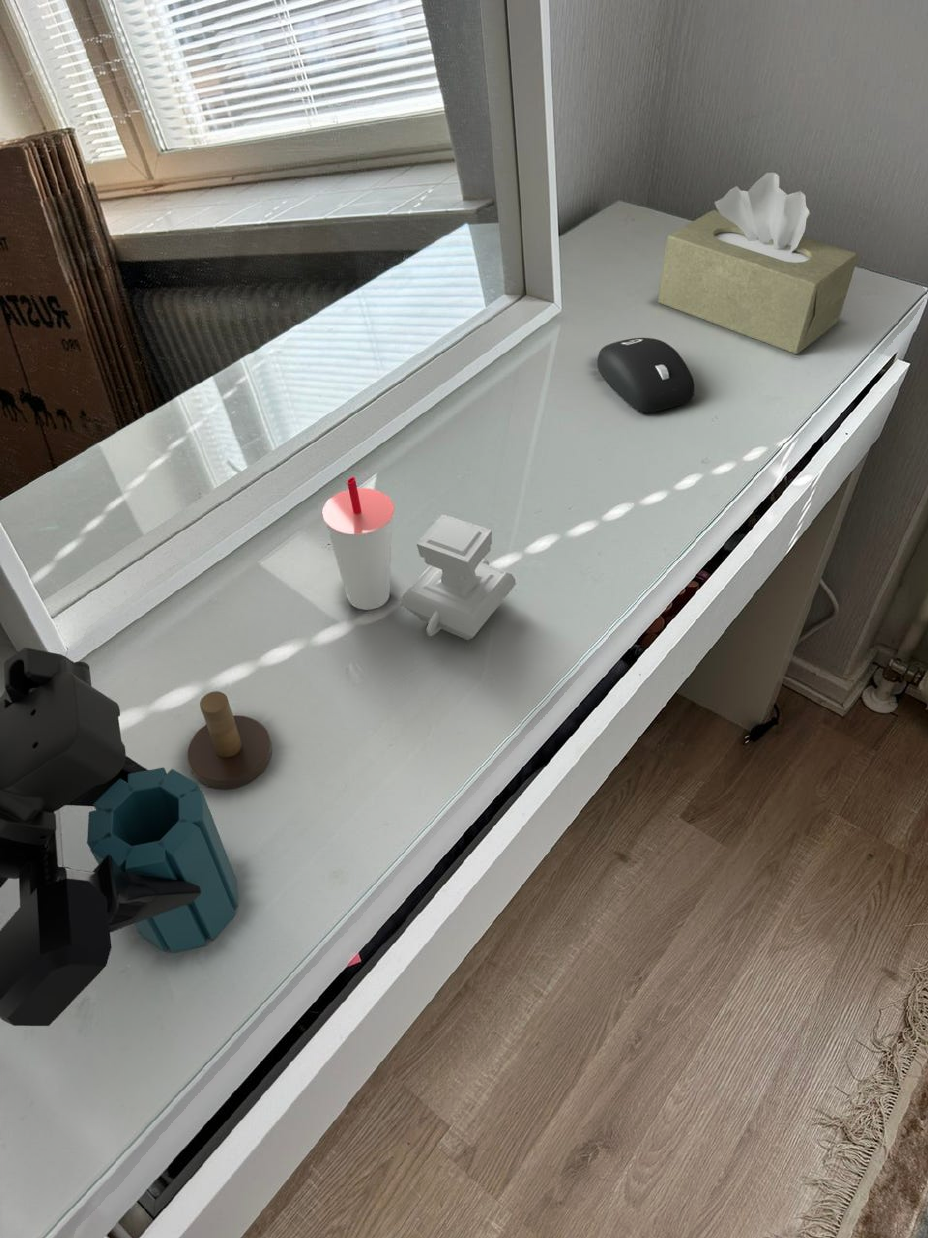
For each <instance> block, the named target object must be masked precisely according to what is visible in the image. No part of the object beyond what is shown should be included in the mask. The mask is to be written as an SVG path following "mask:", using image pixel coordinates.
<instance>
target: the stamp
mask: <svg viewBox="0 0 928 1238" xmlns="http://www.w3.org/2000/svg"><path fill="white" fill-rule="evenodd" d="M492 532H493V531H492V529H489V528H487V527H484V526H481V525H477V524H474V523H471V522H468V521H466V520H463V519H459V518H456V517H453V516H449V515H446V514H444V513H443V514H441V515H440V516H439V517H438V518H437V520H435V522H434V523H433V524H432V525H431V526H430V528H429V529H428V530H427V531H426V532H425V533H424V534H423V535H422V537H421V538H420V539H419V540H418V541H417V542H416V548H417V549H418V550H417V551H418V554H419V557H421V558H423V559H424V563H426V564H427V565H429V566H428V567H427V568H426V569H425V570H424V571H423V573H422V574H421V575H420V576H419V577H418V578H417V579H416V580H415V581H414V582H413V583H412V584H411V585H410V586H409V588H408V589H407V590H406V591H405V592H404V593H403V595H402V596H401V599H400V604H399V605H400V607H402V608H404V609H405V610H406V611H408V612H409V613H411V614H412V615H414V616H416V617H418V618H419V619H420V621H423V622H425V623H427V627H426V634H427V636H429V637H432V636H434V635H436V634H437V633H438V632H439V631H441V630H443V631H445V632H448V633H450V634H452V635H455V636H457V637H459V638H461V639H464V640H466V641H470V640H471V639H473V638H474V637H475V636H476V634H477V633H478V632H479V630H480V629H481V628H482V627H483V626H484V625H485V623H486V622H487V621H488V620H489V618H490V617H491V616H492V614H493V613H494V612H495V611H496V609H498V607H499V606H500V605H501V604H502V602H503V601H504V600H505V599H506V598H507V596H508V595H509V593H510V592H511V591H512V590H513V589H514V588H515V586H516V585H517V582H516V578H515V577H514V575H513V573H510V572H507V571H505V570H502V569H500V568H497V567H495V566H492V565H490V561H489V560H487V559H486V556H488V554H489V553H490V552H491V546H492V544H493V537H492V534H493V533H492Z"/></svg>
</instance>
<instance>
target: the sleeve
mask: <svg viewBox="0 0 928 1238" xmlns="http://www.w3.org/2000/svg"><path fill="white" fill-rule="evenodd" d="M204 794H205V793H204V792H203V790H202V789H200V787H199V783H197V782H195V781H194V780H192V779H191V778H189V777H187V776H185V775H184V774H182V773H180V772H179V771H178V770H175V769H174V768H171V769H170V770H169V771H168V772H167V770H166V768H165V767H158V768H153V769H147V771H142V772H137V773H132V774H128V783H127V782H125V781H123V780H122V779H119V780H118V781H117V782H116V783H114V784H113V785H112V786H111V787H110V788H109V789H108V790H107V791H106V792H105V793H104V794H103V795H102V796H101V797H100V798H99V799H98V800H97V801H96V802H95V803H94V804H93V806H94V810H91V811H89V812H88V818H87V819H88V821H87V836H86V838H87V839H86V840H87V841H86V844H87V845H88V847H89V849H90V852H91V854H92V856H93V857H94V859H95V861H96V863H97V864H98V865H99V864H100V863H101V862H102V860H103V859H104V858H105V857H106V856H107V855H111V856H112V858H113V859H114V861H115V862H116V864H117V865H118V867H119V868H120V870H121V871H122V872H124V873H128V874H136V875H143V876H151V877H158V878H166V879H173V880H180V881H184V882H188V883H191V884H195V885H198V886H200V887H201V894H200V895H199V896H198V897H197V898H196V899H195V900H194V901H193V902H192V903H190V904H187V905H184V906H181V907H179V908H176V909H173V910H170V911H168V912H165V913H162V914H159V915H156V916H154V917H151V918H148V919H145V920H143V921H140V922H137V923H134V924H133V925H134V927H135V928H136V930H137V932H138V933H139V935H140V936H141V937H142V938H144V939H145V940H147V941H148V942H150V943H151V944H152V945H153V946H155V947H156V948H158V949H160V950H161V951H162V952H164V953H165V952H166V951H167V950H168V949H169V950H170V952H171V954H174V953H179V952H183V951H188V950H192V949H193V950H194V949H197V948H201V947H205V946H207V938H208V939H209V940H211V941H214V940H215V939H216V938H217V937H218V936H219V935H220V933H221V932H222V931H223V930H224V929H225V928H226V926H227V925H228V924H229V923H230V922H231V921H232V919H233V918H234V917H235V915H236V912H235V910H234V909H236V908H239V902H238V901H239V900H238V899H239V898H238V885H237V877H236V875H235V872H234V869H233V867H232V864H231V862H230V859H229V857H228V854H227V851H226V849H225V846H224V844H223V840H222V838H221V835H220V834H219V831H218V828H217V826H216V823H215V821H214V818H213V815H212V812H211V809H210V808H209V805H208V803H207V800H206V797H205V795H204ZM93 806H92V807H93Z"/></svg>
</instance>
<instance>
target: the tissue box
mask: <svg viewBox="0 0 928 1238" xmlns="http://www.w3.org/2000/svg"><path fill="white" fill-rule="evenodd" d="M806 199H807V198H806V195H805V193H803V192H802V190H799V191H795V192H792V193H789V194H787V193H786V192H785V191H784V190H783V189H782V188H780V175H778V173H776V172H766V173H764V175H762V176H761V177H760V178H759V179H758V180H756V181H755V183H754V184H753V185H752V186H751V187H750V188H749V189H748V190H741V189H740V188H739V187H738V185H736V186H734V187H732V188H730V189H729V190H728V191H727V192H726V194H725V195H724V196H723V197H722V198H720V199H718V200H716V201H714V205H715V207H716V209H717V210H716V209H712V210H710V211H707V213H705V214H704V215H702V216H700V217H698V218H696V219H695V220H693V221H690V222H689V223H688V224H686V225H684V226H683V227H681V228H679V229H677V230H675V231H674V232H673V233H671V234H668V235H667V237H666V242H665V243H666V244H665V248H664V249H665V250H664V256H663V264H662V270H661V276H660V282H659V290H658V295H657V296H658V297H657V303H658V304H660V305H663V306H666V307H668V308H671V309H674V310H676V311H678V312H681V313H685V314H687V315H690V316H693V317H695V318H697V319H700V320H703V321H706V322H708V323H711V324H714V325H717V326H718V327H719V326H720V327H722V328H724V329H726V330H730V331H732V332H735V333H738V334H741V335H743V336H745V337H748V338H751V339H753V340H756V341H758V342H762V343H764V344H767V345H769V346H772V347H774V348H777V349H780V350H783V351H785V352H788V353H791V354H794V355H799V354H800V353H801V352H802V351H803V350H805V349H806V348H807V347H808V346H810V345H811V344H812V343H813V342H815V341H816V340H817V339H819V338H820V337H821V336H822V335H824V334H825V333H826V332H827V331H828V330H830V329H831V328H832V327H834V326H835V325H837V323H838V322H839V320H840V317H841V313H842V311H843V307H844V304H845V301H846V297H847V294H848V291H849V287H850V284H851V281H852V278H853V275H854V272H855V268H856V265H857V261H858V258H859V254H858V253H856V252H853V251H849V250H847V249H844V248H841V247H837V246H834V245H831V244H827V243H824V242H820V241H817V240H814V239H811V238H808V237H805V236H803V235H805V232H806V226H807V220H808V218H809V216H810V214H811V211H810V210H809V209H808V207H807V202H806Z"/></svg>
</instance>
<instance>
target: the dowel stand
mask: <svg viewBox="0 0 928 1238" xmlns="http://www.w3.org/2000/svg"><path fill="white" fill-rule="evenodd" d="M199 708H200V710H201V714H202V716H203V719H204V722H205V725H203V726H202V727H201V728H200V729H199V730H198V731H197V732H196V733H195V734H194V736H193V737H192V738H191V740H190V742H189V745H188V749H187V762H188V765H189V767H190V769H191V772H192V774H193V776H194V777H195V778H196V780H197V781H199V782H200V783H201V784H202V785H204V786H207V787H209V788H212V789H216V790H232V789H237V788H240V787H243V786H245V785H248V784H249V783H251V782H254V780H256V779H257V778H258V777H259V776H260V775H262V773H263V772H264V771H265V770H266V769H267V767H268V765H269V763H270V761H271V758H272V753H273V748H272V742H271V739H270V735H269V732H268V731H267V728H266V727H265V726H264V725H263V724H262V723H260V722H259V720H256V719H254V718H252V717H249V716H245V715H234V714H233V711H232V707H231V704H230V701H229V698H228V696H227V694H226V693H224V692H223V691H217V690H215V691H211V692H208V693H206V694H205V695H204V696H202V697H201V699H200V701H199Z"/></svg>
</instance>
